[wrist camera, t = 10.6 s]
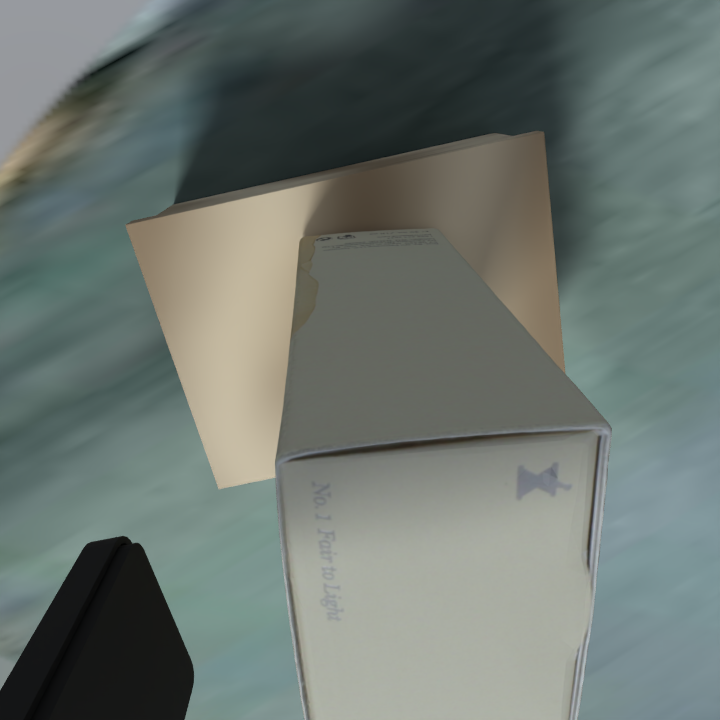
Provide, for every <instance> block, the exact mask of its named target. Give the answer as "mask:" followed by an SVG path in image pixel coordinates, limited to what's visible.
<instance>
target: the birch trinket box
mask: <svg viewBox="0 0 720 720" xmlns="http://www.w3.org/2000/svg"><path fill="white" fill-rule="evenodd" d="M126 228H127V231H128V234H129V237H130V239H131V242H132V245H133V248H134V251H135V254H136V256H137V259H138V262H139V265H140V268H141V271H142V273H143V276H144V279H145V282H146V285H147V287H148V290H149V293H150V296H151V299H152V302H153V304H154V307H155V310H156V313H157V316H158V319H159V321H160V324H161V327H162V330H163V333H164V335H165V338H166V341H167V344H168V347H169V350H170V352H171V355H172V358H173V361H174V364H175V367H176V369H177V372H178V375H179V378H180V381H181V383H182V386H183V389H184V392H185V395H186V398H187V400H188V403H189V406H190V409H191V412H192V415H193V417H194V420H195V423H196V426H197V429H198V431H199V434H200V437H201V440H202V443H203V446H204V448H205V451H206V454H207V457H208V460H209V462H210V465H211V468H212V471H213V474H214V477H215V479H216V482H217V485H218V488H219V489H222V488H227V487H232V486H236V485H241V484H246V483H251V482H256V481H261V480H265V479H270V478H275V477H276V476H275V458H276V452H277V445H278V438H279V431H280V424H281V418H282V411H283V402H284V393H285V384H286V375H287V367H288V357H289V346H290V337H291V328H292V318H293V308H294V298H295V287H296V274H297V263H298V250H299V241H300V239H301V238H303V237H307V236H316V235H327V234H337V233H350V232H363V231H381V230H403V229H427V228H436V229H438V230H440V231H441V233H442V234H443V235H444V236H445V237H446V238H447V240H448V241H449V242H450V243H451V244H452V245H453V246H454V248H455V249H456V250H457V251H458V252H459V253H460V254H461V256H462V257H463V258H464V259H465V260H466V261H467V263H468V264H469V265H470V266H471V267H472V268H473V269H474V270H475V272H476V273H477V274H478V275H479V276H480V277H481V278H482V280H483V281H484V282H485V283H486V284H487V285H488V286H489V287H490V289H491V290H492V291H493V292H494V294H495V295H496V296H497V297H498V298H499V299H500V300H501V301H502V302H503V304H504V305H505V306H506V307H507V308H508V309H509V310H510V312H511V313H512V314H513V315H514V316H515V317H516V318H517V320H518V321H519V322H520V323H521V324H522V325H523V326H524V327H525V328H526V330H527V331H528V332H529V333H530V335H531V336H532V337H533V338H534V339H535V340H536V341H537V342H538V343H539V345H540V346H541V347H542V348H543V350H544V351H545V352H546V353H547V354H548V355H549V356H550V357H551V359H552V360H553V361H554V362H555V363H556V364H557V366H558V367H559V368H560V369H561V370H562V371H563V372H564V373H565V364H564V353H563V341H562V330H561V319H560V307H559V296H558V285H557V273H556V262H555V251H554V239H553V228H552V216H551V205H550V194H549V182H548V171H547V160H546V148H545V137H544V132H541V131H533V132H529V133H524V134H520V135H515V136H509V135H504V134H498V133H492V134H487V135H483V136H478V137H474V138H469V139H465V140H460V141H456V142H451V143H447V144H442V145H438V146H433V147H429V148H424V149H420V150H415V151H411V152H406V153H402V154H397V155H393V156H388V157H384V158H380V159H375V160H371V161H366V162H362V163H357V164H353V165H348V166H344V167H339V168H335V169H330V170H326V171H321V172H317V173H312V174H308V175H303V176H299V177H294V178H290V179H285V180H281V181H277V182H272V183H268V184H263V185H259V186H254V187H250V188H245V189H241V190H236V191H232V192H227V193H223V194H218V195H214V196H209V197H205V198H200V199H196V200H191V201H187V202H182V203H178V204H173V205H172V206H170V207H169V208H167V209H166V210H164V211H163V212H161V213H160V214H158V215H156V216H152V217H147V218H143V219H138V220H134V221H131V222H130V223H128V224H126Z"/></svg>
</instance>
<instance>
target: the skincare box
mask: <svg viewBox="0 0 720 720" xmlns="http://www.w3.org/2000/svg"><path fill="white" fill-rule="evenodd" d="M611 437H612V428H611V426H610V425H609V423H608V422H607V421H606V420H605V419H604V417H603V416H602V415H601V414H600V413H599V412H598V411H597V409H596V408H595V407H594V406H593V405H592V403H591V402H590V401H589V400H588V399H587V398H586V397H585V395H584V394H583V393H582V392H581V391H580V390H579V389H578V388H577V386H576V385H575V384H574V383H573V382H572V381H571V380H570V379H569V378H568V377H567V376H566V374H565V373H564V372H563V371H562V370H561V369H560V368H559V367H558V366H557V364H556V363H555V362H554V361H553V360H552V359H551V357H550V356H549V355H548V354H547V353H546V352H545V351H544V350H543V348H542V347H541V346H540V345H539V343H538V342H537V341H536V340H535V339H534V338H533V337H532V336H531V335H530V333H529V332H528V331H527V330H526V328H525V327H524V326H523V325H522V324H521V323H520V322H519V321H518V320H517V318H516V317H515V316H514V315H513V314H512V313H511V312H510V310H509V309H508V308H507V307H506V306H505V305H504V304H503V302H502V301H501V300H500V299H499V298H498V297H497V296H496V295H495V294H494V292H493V291H492V290H491V289H490V287H489V286H488V285H487V284H486V283H485V282H484V281H483V280H482V278H481V277H480V276H479V275H478V274H477V273H476V272H475V270H474V269H473V268H472V267H471V266H470V265H469V264H468V263H467V261H466V260H465V259H464V258H463V257H462V256H461V254H460V253H459V252H458V251H457V250H456V249H455V248H454V246H453V245H452V244H451V243H450V242H449V241H448V240H447V238H446V237H445V236H444V235H443V234H442V233H441V231H440V230H438V229H436V228H427V229H403V230H381V231H363V232H350V233H337V234H327V235H316V236H307V237H303V238H301V239H300V241H299V250H298V263H297V274H296V287H295V298H294V308H293V318H292V328H291V337H290V346H289V357H288V367H287V375H286V384H285V393H284V402H283V411H282V418H281V424H280V431H279V438H278V445H277V452H276V458H275V476H276V496H277V510H278V523H279V536H280V544H281V552H282V564H283V573H284V580H285V590H286V598H287V606H288V614H289V621H290V628H291V635H292V642H293V649H294V657H295V663H296V670H297V677H298V683H299V689H300V697H301V702H302V708H303V714H304V719H305V720H578V713H579V707H580V701H581V696H582V686H583V680H584V673H585V666H586V659H587V652H588V645H589V639H590V631H591V625H592V619H593V611H594V600H595V590H596V579H597V569H598V562H599V554H600V541H601V530H602V522H603V513H604V504H605V491H606V484H607V471H608V461H609V453H610V446H611Z"/></svg>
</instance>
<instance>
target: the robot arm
mask: <svg viewBox="0 0 720 720" xmlns="http://www.w3.org/2000/svg"><path fill="white" fill-rule="evenodd" d="M193 683H194V670H193V664H192V661H191V659H190V656H189V654H188V652H187V649H186V647H185V645H184V642H183V640H182V638H181V635H180V633H179V631H178V628H177V626H176V624H175V621H174V619H173V617H172V614H171V612H170V610H169V607H168V605H167V603H166V600H165V598H164V596H163V593H162V591H161V588H160V586H159V584H158V581H157V579H156V577H155V574H154V572H153V570H152V567H151V565H150V563H149V560H148V558H147V556H146V553H145V551H144V549H143V547H142V546H141V545H140V544H139V543H133V544H132V542H131V540H130V539H128V538H127V537H125V536H121V537H115V538H110V539H105V540H99V541H94V542H90V543H88V544H87V545H86V546H85V547H84V548H83V550H82V552H81V553H80V555H79V557H78V559H77V560H76V562H75V564H74V565H73V567H72V569H71V570H70V572H69V574H68V576H67V577H66V579H65V581H64V582H63V584H62V586H61V588H60V589H59V591H58V593H57V594H56V596H55V598H54V600H53V601H52V603H51V605H50V606H49V608H48V610H47V611H46V613H45V615H44V617H43V618H42V620H41V622H40V623H39V625H38V627H37V629H36V630H35V632H34V634H33V635H32V637H31V639H30V641H29V642H28V644H27V646H26V647H25V649H24V651H23V653H22V654H21V656H20V658H19V659H18V661H17V663H16V664H15V666H14V668H13V670H12V672H11V673H10V675H9V676H8V678H7V680H6V682H5V683H4V685H3V687H2V688H1V690H0V720H184V719H185V715H186V712H187V708H188V704H189V700H190V696H191V692H192V688H193Z"/></svg>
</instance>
